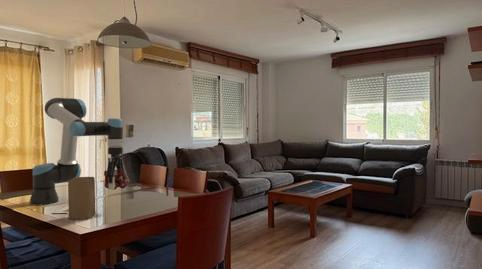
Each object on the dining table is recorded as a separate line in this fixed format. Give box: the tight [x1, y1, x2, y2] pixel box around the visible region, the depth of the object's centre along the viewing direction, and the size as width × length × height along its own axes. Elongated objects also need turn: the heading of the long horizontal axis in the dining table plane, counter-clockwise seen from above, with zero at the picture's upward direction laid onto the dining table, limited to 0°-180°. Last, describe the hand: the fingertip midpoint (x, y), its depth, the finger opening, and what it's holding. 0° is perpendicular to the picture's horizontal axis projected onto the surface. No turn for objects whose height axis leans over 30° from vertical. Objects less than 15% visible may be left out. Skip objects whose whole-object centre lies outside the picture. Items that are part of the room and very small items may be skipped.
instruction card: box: [53, 205, 69, 213], centre depth 187 cm, size 13×18×1 cm
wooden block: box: [67, 176, 96, 220], centre depth 171 cm, size 10×10×20 cm
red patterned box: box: [103, 169, 127, 191], centre depth 183 cm, size 7×12×10 cm, turn 138°
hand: (115, 187), depth 183 cm, fingers closed on red patterned box, 11 cm apart
